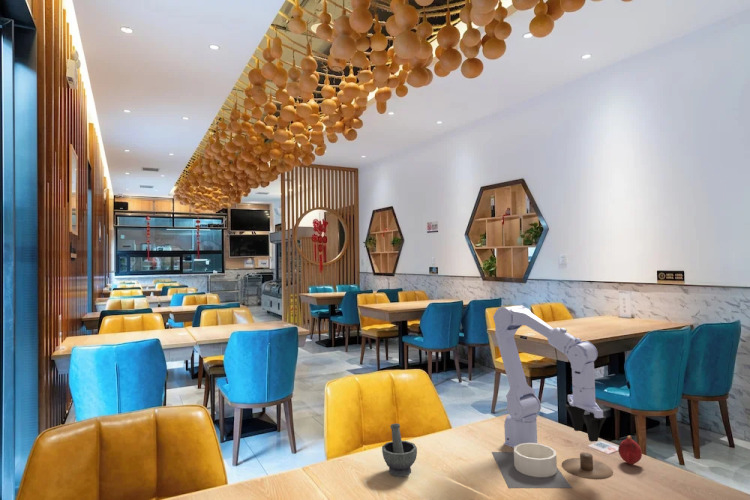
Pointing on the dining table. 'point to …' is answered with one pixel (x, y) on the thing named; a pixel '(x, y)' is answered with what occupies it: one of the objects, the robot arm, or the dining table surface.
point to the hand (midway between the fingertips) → (585, 435)
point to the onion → (630, 451)
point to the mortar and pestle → (399, 454)
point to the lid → (587, 467)
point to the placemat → (523, 481)
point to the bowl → (535, 460)
